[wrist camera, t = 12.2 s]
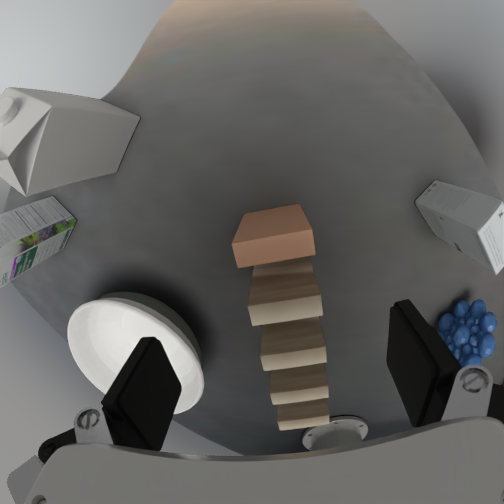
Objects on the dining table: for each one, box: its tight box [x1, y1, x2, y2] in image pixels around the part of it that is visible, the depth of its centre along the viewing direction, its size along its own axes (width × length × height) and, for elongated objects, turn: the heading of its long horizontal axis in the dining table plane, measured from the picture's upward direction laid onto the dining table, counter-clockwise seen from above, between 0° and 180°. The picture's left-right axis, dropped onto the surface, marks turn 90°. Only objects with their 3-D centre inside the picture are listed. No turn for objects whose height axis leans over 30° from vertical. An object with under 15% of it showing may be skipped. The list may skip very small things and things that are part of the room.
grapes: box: [438, 299, 497, 367], centre depth 28 cm, size 12×7×12 cm, turn 136°
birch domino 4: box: [278, 398, 329, 430], centre depth 33 cm, size 2×6×10 cm, turn 102°
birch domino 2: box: [260, 316, 327, 371], centre depth 29 cm, size 2×6×10 cm, turn 102°
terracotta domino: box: [232, 204, 316, 268], centre depth 26 cm, size 2×6×10 cm, turn 102°
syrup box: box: [0, 196, 76, 288], centre depth 26 cm, size 6×6×14 cm
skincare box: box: [415, 180, 504, 275], centre depth 23 cm, size 6×4×12 cm
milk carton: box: [0, 87, 140, 197], centre depth 19 cm, size 7×7×19 cm
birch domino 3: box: [270, 363, 329, 405], centre depth 31 cm, size 2×6×10 cm, turn 102°
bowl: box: [68, 292, 204, 414], centre depth 33 cm, size 19×19×8 cm
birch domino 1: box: [248, 256, 323, 326], centre depth 27 cm, size 2×6×10 cm, turn 102°
